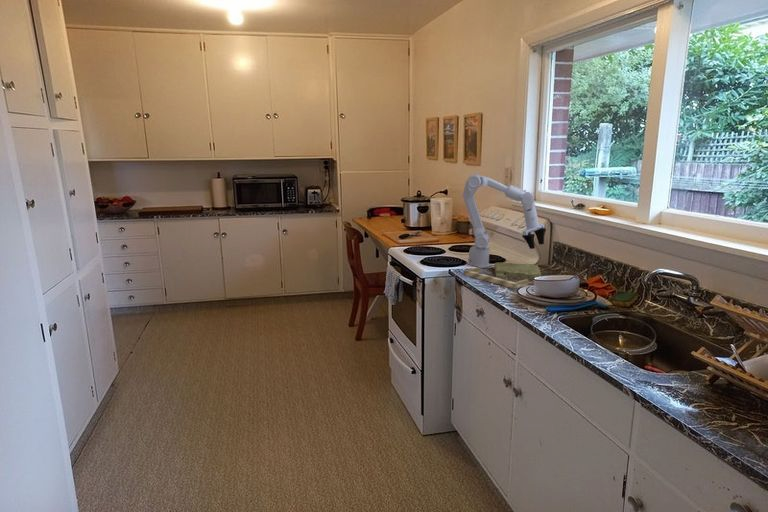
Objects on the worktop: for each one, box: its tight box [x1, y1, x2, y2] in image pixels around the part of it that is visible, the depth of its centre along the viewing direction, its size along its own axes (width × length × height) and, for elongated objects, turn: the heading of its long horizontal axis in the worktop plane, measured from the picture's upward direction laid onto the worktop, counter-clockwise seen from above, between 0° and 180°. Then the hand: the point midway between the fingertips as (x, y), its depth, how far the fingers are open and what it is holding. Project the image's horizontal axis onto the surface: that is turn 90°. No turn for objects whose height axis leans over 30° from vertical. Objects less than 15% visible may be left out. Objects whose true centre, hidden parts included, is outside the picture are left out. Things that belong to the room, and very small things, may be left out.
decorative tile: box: [493, 261, 542, 281], centre depth 217 cm, size 19×20×4 cm
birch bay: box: [463, 266, 530, 290], centre depth 207 cm, size 27×10×2 cm, turn 40°
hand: (537, 246), depth 221 cm, fingers open, 7 cm apart
